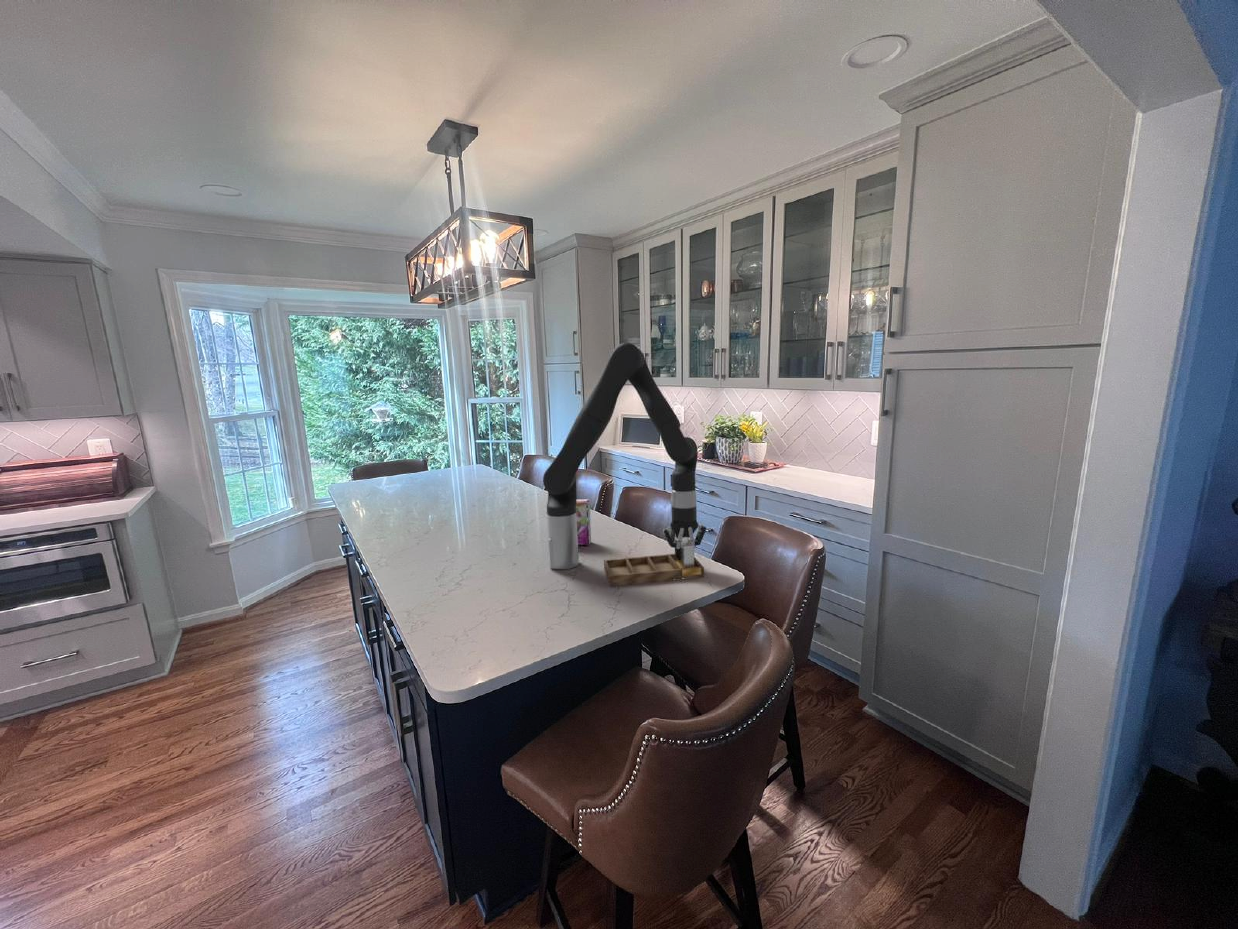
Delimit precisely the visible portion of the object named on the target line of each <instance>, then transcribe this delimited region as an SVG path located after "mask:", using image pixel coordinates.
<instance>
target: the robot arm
mask: <svg viewBox="0 0 1238 929" xmlns="http://www.w3.org/2000/svg"><path fill="white" fill-rule="evenodd" d="M627 381H628V382H629V383H630V384H631V385H632V387H633V388H634V389H635V391H636V392H637V394H638V396H639V398H640V400H641V402H642V405H643V407H644V409H645V411H646V412H645V413H646V414H647V415H648V417H649V419H650V421H651V422H652V424H653V426H654V427H655V429H656V431H657V432H658V433H659V434H658V435H660V438H661V442H662V445H663V446H664V448H665V451H666V454H667V455H668V456H669V458H670V459H671V460H672V461H673V462H675V464H674V470H673V471H672V474H671V496H670V500H671V501H670V505H671V521H670V522H671V523H670V525H669V526H668V527H666V528H665V527H663V528H662V529H661V530H662V533H663V535H664V537H665V539H666V541H667V544H668V545H669V547H671V548H674V554H675V557H676V558H677V559H678V560H681V549H680V545H681V542H682V538H683V537H686V538H687V539H688V540H689V541H690V542H691V543H692V544H693V545H694V548H695V547H696V546H700V545H701V544H702V541H703V538H704V537H705V533H706V531H707V527H706V526H705V525H703V524H699V523H698V521H697V518H698V516H697V509H698V508H697V507H698V506H697V491H696V470H697V464H698V453H699V452H698V446H697V443H696V441H695V440H694V439H692V438H691V437H689V436H685V435H684V434H683V432H682V430H681V421H680V420H679V418H678V416H677V415H676V413H675V412H674V410H673V409H672V407H671V405H670V404H669V402H668V401H667V399H666V397H665V396H664V395H663V393H662V391H661V389H660V388H659V387H658V385H657V383H656V381H655V379H654V377H653V375H652V374H651V371H650V369H649V366H648V364H647V361H646V358H645V355H644V353H643V352H642V350H641V349H640V348H639V347H638V346H636V345H635V344H634V343H631V342H622V343H620V344H619V345H617V346H616V347H615V348H614V349H613V351H612V352H611V354H610V356H609V359H608V361H607V363H606V365H605V368H604V370H603V371H602V374H601V376H600V378H599V380H598V381H597V384H596V385H595V386H594V388H593V390H592V391H591V393H590V395H589V396H588V398H587V400H586V401H585V403H584V404H583V406H582V407H581V409H580V411H579V412H578V414H577V417H575V420H574V423H573V424H572V426H571V428H570V430H569V433H568V434H567V437H566V439H565V440H564V443H563V446H562V447H561V450H559V452H558V454H557V455H556V457H555V458H554V460H553V461H552V462H551V463H550V465H549V466H548V467H547V469H546V470H545V472H544V474H543V476H542V484H543V487H544V489H545V491H547V503H546V516H547V531H548V552H549V554H548V555H549V567H550V569H553V570H554V569H555V570H568V569H569V570H571V569H573V568H575V567H577V566H578V565H579V564H580V562H579V561H580V560H579V559H580V558H579V546H578V538H577V519H576V501H577V480H576V479H577V476H576V474H577V472H578V470H579V468H580V466H581V464H582V463H583V461H584V459H585V458H586V457H587V455H588V454H589V453H590V452H591V450H592V449H593V447H594V446H595V445H596V443H597V442H598V441H599V440H600V438H601V436H602V435H603V433H604V431H605V430H606V429H607V426H608V425H609V423H610V421H611V419H612V417H613V415H614V412H615V408H616V404H617V401H618V399H619V395H620V393H621V391H622V389H623V387H625V385H626V384H627ZM696 530H697V533H696V536H695V538H694V534H695V532H696ZM672 532H673V533H674V541H673V539H672V537H671V534H672Z"/></svg>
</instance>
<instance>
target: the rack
mask: <svg viewBox="0 0 1238 929" xmlns="http://www.w3.org/2000/svg"><path fill="white" fill-rule="evenodd" d="M603 570H604V573H605V575H606V579H607V581H608V584H609V587H616V586H617V587H618V586H627V585H637V584H638V583H639V584H647V583H646V582H650V583H658V582H657V581H660V582H666V581H665V580H670V581H675V580H674V579H680V580H683V579H682V578H690V579H698V578H700V577H701V578H704V577H705V567H704V566H703V565H702V564H701V563H700V561H699V560H698V559H697V558H696V557H695V556H694V567H693V568H683V567H682V565H681V564H680V563H679V562H678V560H677V559H676V558H675V553H670V554H669V553H667V554H657V555H646V556H635V557H625V558H623V557H622V558H613V559H611V558H610V559H604V560H603ZM639 584H638V585H639Z"/></svg>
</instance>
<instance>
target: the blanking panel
mask: <svg viewBox="0 0 1238 929" xmlns="http://www.w3.org/2000/svg"><path fill="white" fill-rule="evenodd" d="M680 549H681V560H678V559H677V558H676V557H675V558H676V559H677V560H678V562H679V563H680V564H681V565H682V567H683V568H693V567H694V557H695V547H694V545H693V544H692V543H691V542H690V541H689V540H688V538H687V537H683V538H682V542H681V545H680Z"/></svg>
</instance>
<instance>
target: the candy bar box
mask: <svg viewBox="0 0 1238 929" xmlns="http://www.w3.org/2000/svg"><path fill="white" fill-rule="evenodd" d="M590 502H591V500H590V499H589V498H587V499H585V498H584V499H580V498H578V499H577V501H576V519H577V538H578V547H583V546H582V545H587V546H586V547H588V545H589V544H591V543H592V526H591V524H592V523H591V503H590ZM579 545H581V546H579ZM589 546H590V545H589Z"/></svg>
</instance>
